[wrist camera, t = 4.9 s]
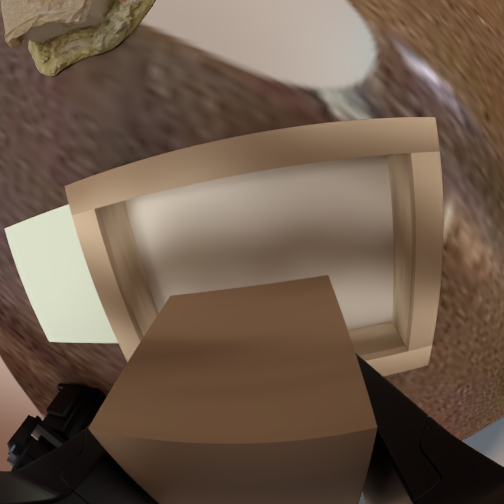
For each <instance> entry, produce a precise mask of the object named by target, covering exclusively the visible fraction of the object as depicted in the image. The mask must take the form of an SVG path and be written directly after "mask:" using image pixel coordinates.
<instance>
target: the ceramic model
mask: <svg viewBox="0 0 504 504" xmlns="http://www.w3.org/2000/svg"><path fill="white" fill-rule="evenodd" d="M155 1H156V0H1V9H2V15H3V21H4V26H5V36H4V37H5V39H6V43H8V45H9V46H10V47H12V48H15V47H19V46H20V45H21V44H22V40H29V48H28V49H29V51H30V53H31V54H32V58H33V59H34V61H35V64H36V67H37V69H38V70H39V72H40V73H42V74H44V75H46V76H55V75H56V74H57V73H59V72H60V71H61V70H62V69H64V68H66V67H67V66H69V65H70V64H74V63H75V62H78V61H80V60H82V59H84V58H86V57H89V56H94V55H97V54H101V53H103V52H106V51H109V50H112V49H113V48H115V47H116V46H117V45H118V44H119V43H120V42H122V41H123V40H124V39H125V38H126V37H127V36H128V35H129V34H130V33H131V32H132V31H133V30H134V29H135V28H136V26H137V25H138V24H139V22H140V23H141V22H142V20H143V19H144V17H145V16H146V15H147V13H148V12H149V11H150V9H151V8H152V7H153V4H154V3H155Z"/></svg>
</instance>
